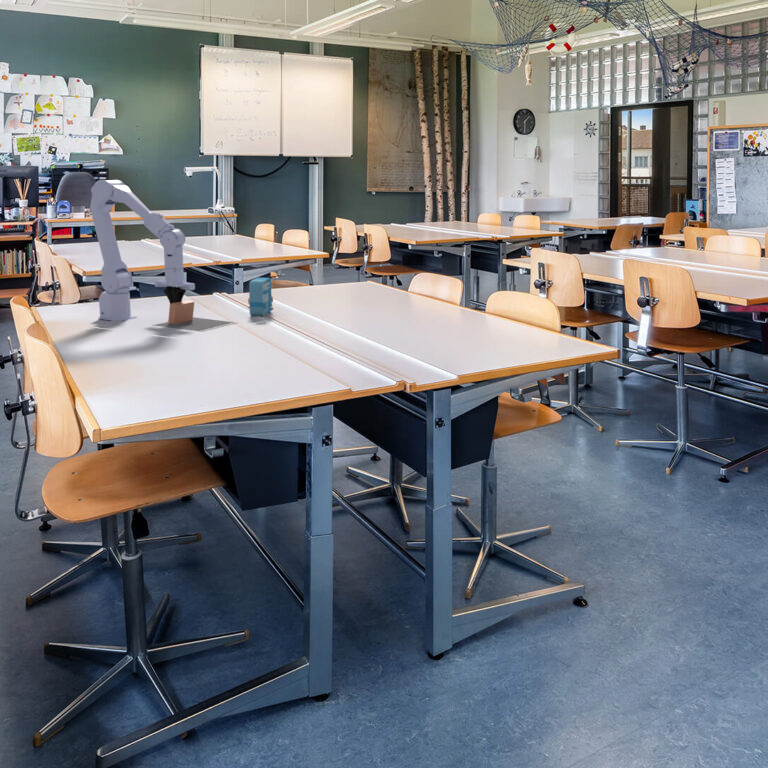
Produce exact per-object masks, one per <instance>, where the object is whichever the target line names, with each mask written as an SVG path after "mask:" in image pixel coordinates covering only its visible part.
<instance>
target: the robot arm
mask: <svg viewBox="0 0 768 768" xmlns="http://www.w3.org/2000/svg"><path fill="white" fill-rule="evenodd" d="M90 191H91V201H90V206H89V209H90V214H91V217H92V221H93V226H94V229H95V233H96V237H97V240H98V241H97V242H98V244H99V248H100V254H101V257H102V260H103V265H102V267H101V270H100V272H101V282H100V283H101V287H102V288H103V289H104V291H102V292H101V294H100V295H99V297H98V298H99V299H98V303H99V305H98V306H99V316H98V317H97V318H98V320H105V321H114V322H115V321H116V322H122V321H127V320H132V319H136V318H137V316H134V315H132V313H131V294H130V288H131V286H132V285H133V282H134V278H133V275H132V274H131V272H130V271H129V269H128V266H127V264H126V263H125V262H124V261H123V260H122V257H121V253H120V249H119V245H118V241H117V237H116V233H115V230H114V225H113V221H112V218H111V213H110V211H111V210H112V208H113V207H114V206H115V204H117V203H122V204H124V205H125V206H127V207H128V208H130V209H131V211H133V212H134V213H135V214H136V215H137V216H139V217H140V218H141V219H142V220H143V225H144V227H145V228H146V229H148V230H149V231H150V232H151V233H152V234H153V235H154V236H155V237H156V238H157V239H159V242H160V243H159V244H160V245H161V246H162V249H163V257H164V258H163V259H164V261H163V262H164V278H165V279H164V280H162V279H161V280H160V279H159V280H154V287H157V288H165V289H163V293H164V295H166V297H167V299H168V302H169V304H170V303H176V302H181V301H183V298H184V295H185V293H186V292H187V290H188V291H194V290H196V284H195V283H193V282H188V281H185V279H184V256H183V255H184V254H183V246H184V245H185V242H186V236H185V234H184V232H183V231H182V230H181V229H179V228H175V226H174V224H170V223H169V222H168V221H167V220H166V219H165V218H164V215H163V214H162V213H160V212H159V213H158V212H157V211H151V210H150V209H149V208H148V207H147V206H146V205H145V204H144V203H143V202H142V201H141V200H140V199H139V198H138V196H137V195H136V194H134V193H133V191H131V189H130V187H129V186H127V185H126V184H125V183H124V182H123V181H122V180H119V179H111V180H110V179H107V180H105V179H99V180H97V181H96V182H95V183H94V185H93V186H92V187H91V188H90Z"/></svg>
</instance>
